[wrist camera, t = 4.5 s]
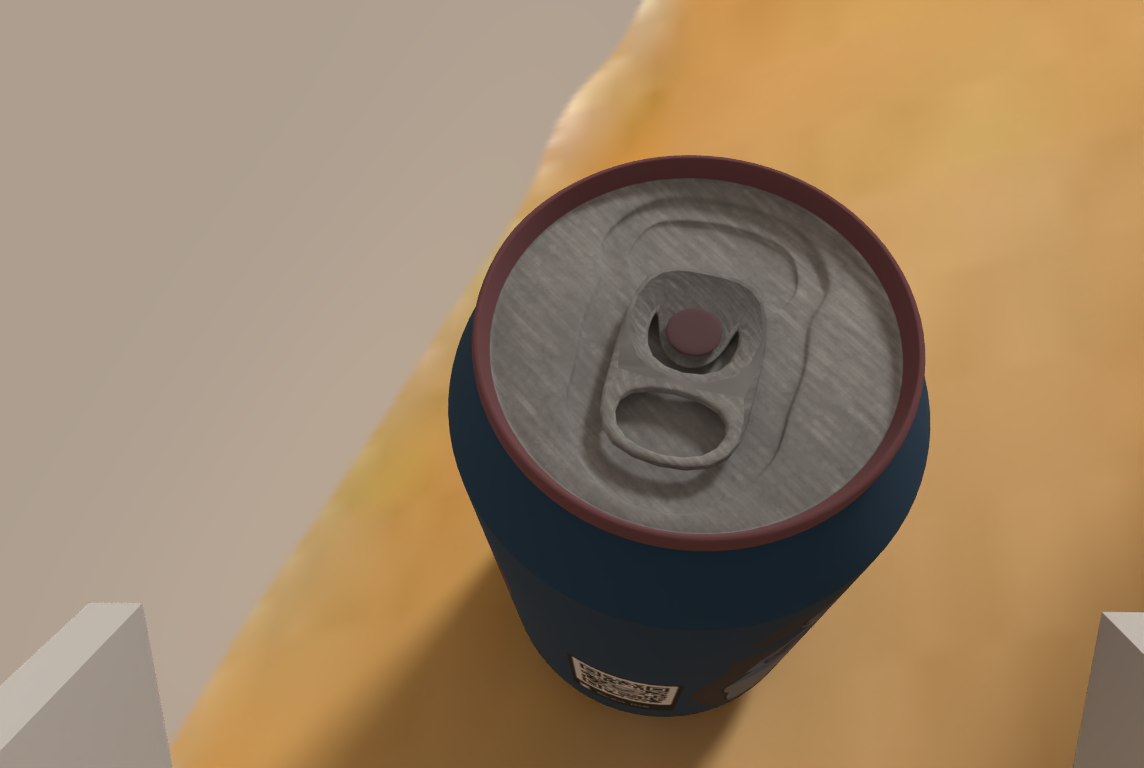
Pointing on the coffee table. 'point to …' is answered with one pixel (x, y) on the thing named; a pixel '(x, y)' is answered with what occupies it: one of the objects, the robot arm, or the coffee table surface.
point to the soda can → (687, 423)
